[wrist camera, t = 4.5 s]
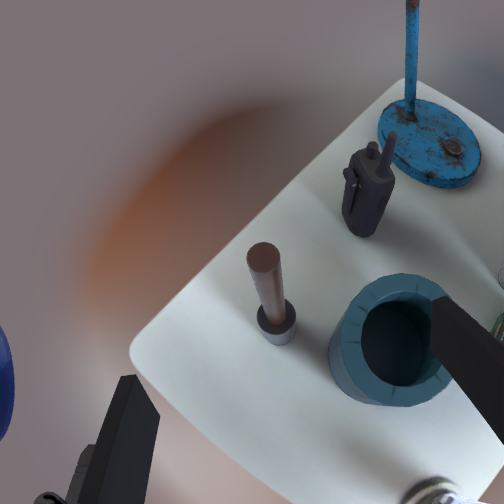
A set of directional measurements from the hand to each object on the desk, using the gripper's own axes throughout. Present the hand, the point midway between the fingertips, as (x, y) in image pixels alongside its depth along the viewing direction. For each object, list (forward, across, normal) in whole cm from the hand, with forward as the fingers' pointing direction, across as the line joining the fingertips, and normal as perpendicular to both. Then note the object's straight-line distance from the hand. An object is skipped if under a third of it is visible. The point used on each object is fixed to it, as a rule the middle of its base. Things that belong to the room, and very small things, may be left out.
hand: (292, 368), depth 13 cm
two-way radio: (+24, +11, -2) cm, 27 cm away
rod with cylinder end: (+17, 0, -9) cm, 19 cm away
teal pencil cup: (+13, +9, -13) cm, 21 cm away
